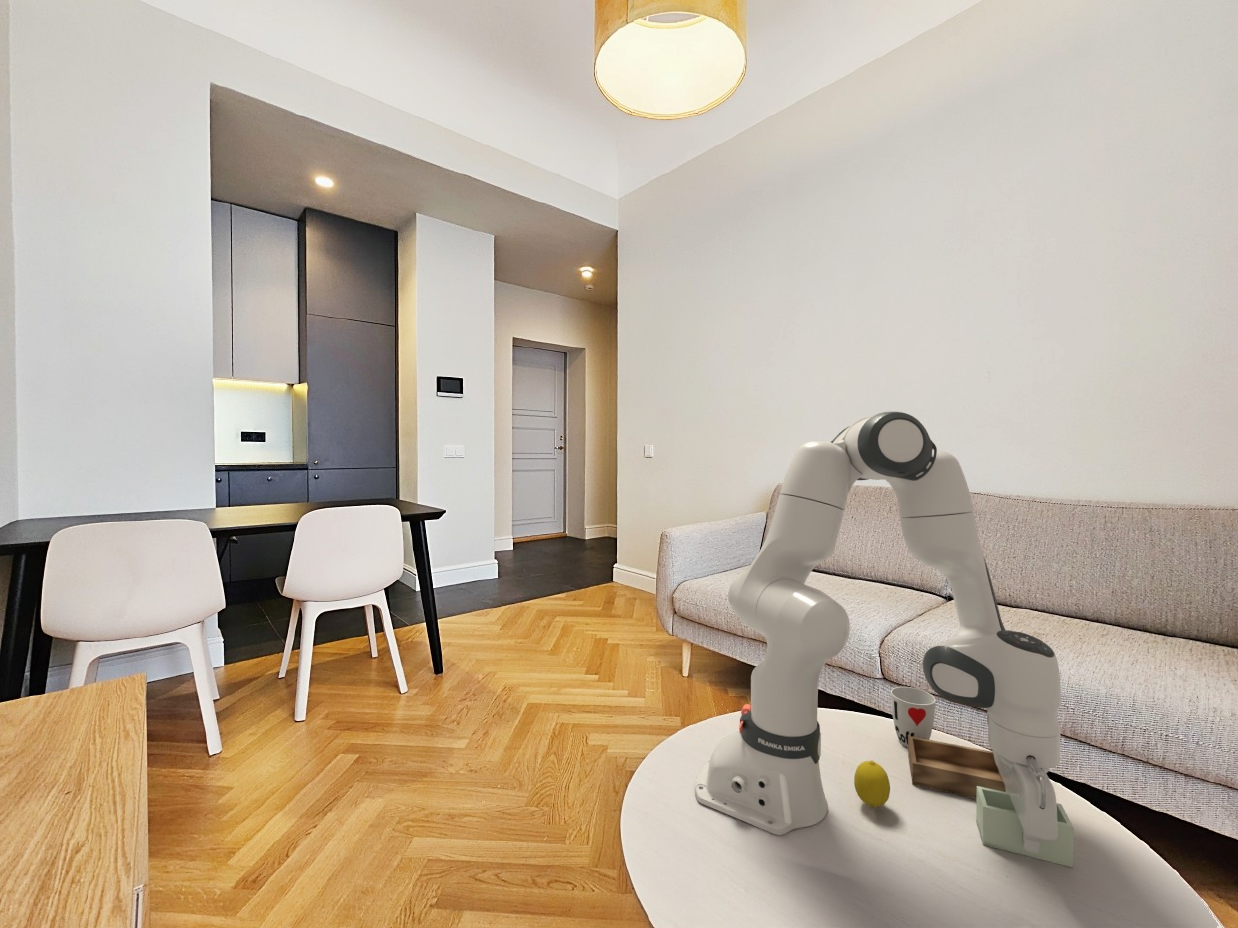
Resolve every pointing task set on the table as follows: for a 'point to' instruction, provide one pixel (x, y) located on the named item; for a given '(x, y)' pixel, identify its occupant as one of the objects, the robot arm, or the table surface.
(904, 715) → the cup
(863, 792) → the lemon
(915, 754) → the walnut crate
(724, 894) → the table surface
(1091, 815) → the table surface
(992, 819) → the sage crate
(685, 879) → the table surface
